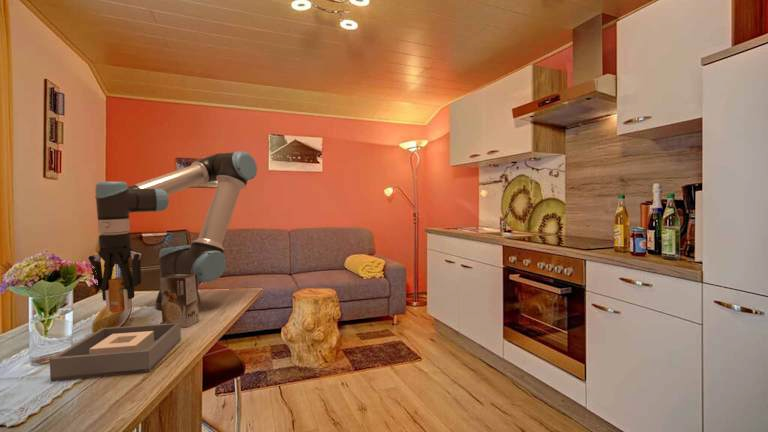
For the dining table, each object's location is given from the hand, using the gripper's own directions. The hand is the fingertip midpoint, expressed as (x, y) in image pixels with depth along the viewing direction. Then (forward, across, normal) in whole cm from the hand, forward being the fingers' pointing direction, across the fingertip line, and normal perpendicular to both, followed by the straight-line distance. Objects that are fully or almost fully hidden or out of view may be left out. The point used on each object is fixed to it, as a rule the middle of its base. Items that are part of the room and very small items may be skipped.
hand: (119, 309), depth 107 cm
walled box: (+7, +10, -19) cm, 22 cm away
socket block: (+7, +10, -19) cm, 22 cm away
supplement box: (+1, 0, 0) cm, 1 cm away
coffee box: (+8, +14, +6) cm, 18 cm away
